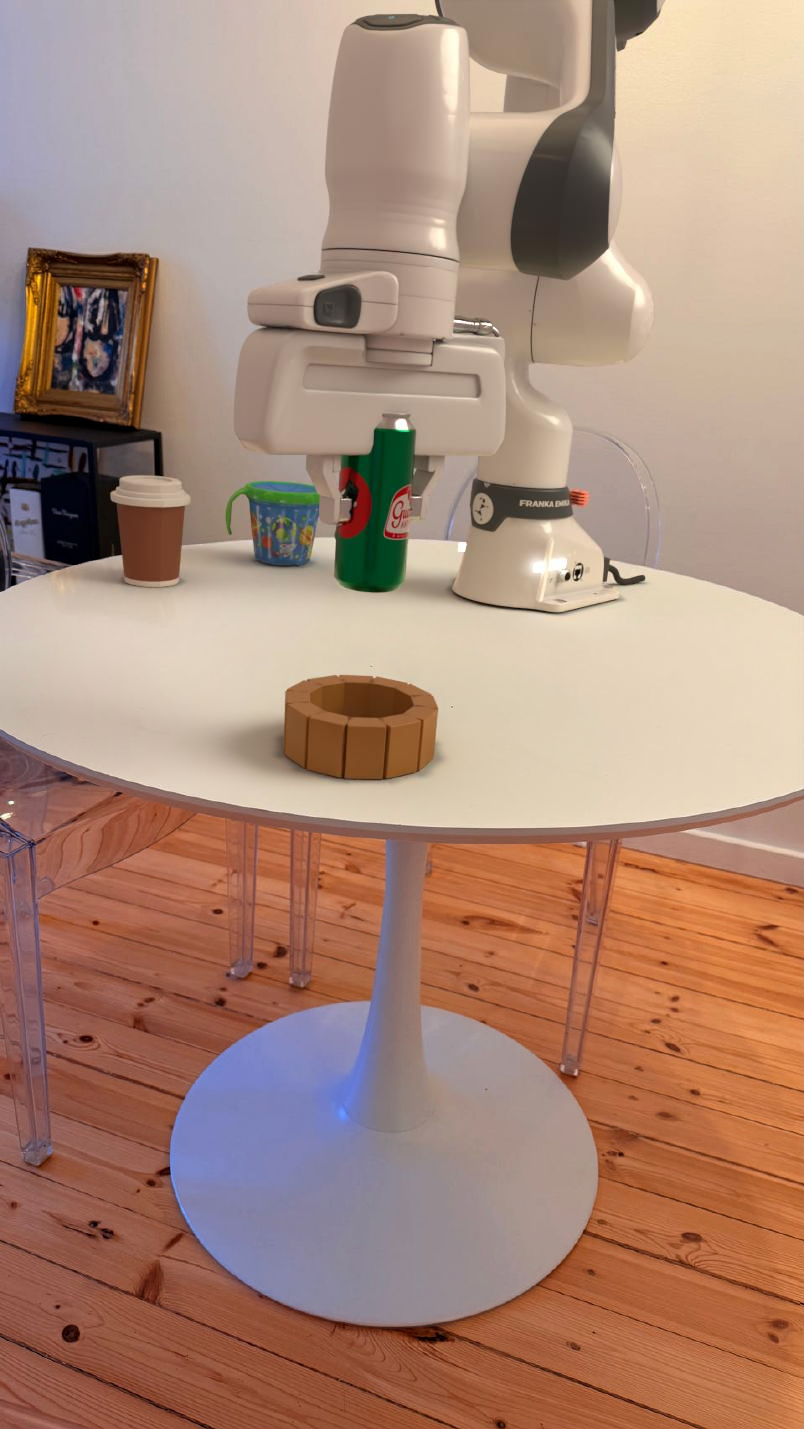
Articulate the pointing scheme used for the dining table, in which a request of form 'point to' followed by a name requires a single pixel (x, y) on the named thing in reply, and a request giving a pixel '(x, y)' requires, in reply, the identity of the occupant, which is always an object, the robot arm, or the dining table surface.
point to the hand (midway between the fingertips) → (372, 521)
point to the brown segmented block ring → (359, 726)
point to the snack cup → (280, 520)
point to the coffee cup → (150, 528)
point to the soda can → (377, 509)
